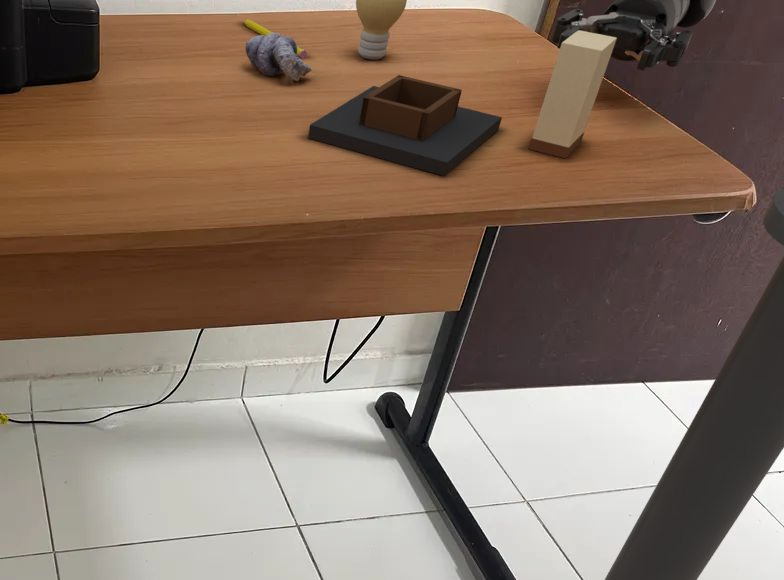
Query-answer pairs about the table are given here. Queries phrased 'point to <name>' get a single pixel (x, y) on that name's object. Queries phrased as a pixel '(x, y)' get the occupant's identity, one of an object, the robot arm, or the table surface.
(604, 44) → the cream rectangular block
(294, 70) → the grey knotted piece
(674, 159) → the table surface
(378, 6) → the light bulb
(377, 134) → the square socket base
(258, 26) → the pencil
